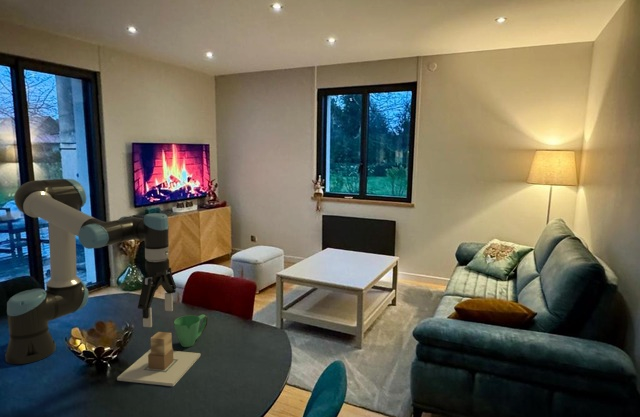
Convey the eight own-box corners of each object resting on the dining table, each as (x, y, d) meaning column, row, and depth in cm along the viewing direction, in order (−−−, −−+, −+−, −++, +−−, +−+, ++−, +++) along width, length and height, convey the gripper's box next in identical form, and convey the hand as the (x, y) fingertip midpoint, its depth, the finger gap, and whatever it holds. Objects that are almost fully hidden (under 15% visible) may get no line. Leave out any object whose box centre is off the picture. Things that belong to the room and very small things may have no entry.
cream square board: (117, 380, 132) (116, 363, 131) (151, 351, 151) (150, 336, 151) (173, 386, 129) (172, 369, 128) (200, 355, 149) (200, 340, 148)
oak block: (151, 354, 137) (150, 338, 136) (159, 347, 142) (158, 331, 141) (164, 355, 136) (164, 339, 136) (172, 348, 141) (171, 332, 141)
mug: (186, 352, 151) (185, 327, 149) (169, 345, 156) (168, 321, 154) (214, 337, 163) (214, 314, 162) (198, 332, 168) (197, 309, 167)
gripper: (146, 270, 122) (148, 335, 125) (185, 250, 146) (186, 305, 149) (124, 268, 123) (126, 333, 126) (166, 249, 147) (167, 303, 151)
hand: (158, 318), depth 138 cm, fingers open, 13 cm apart
